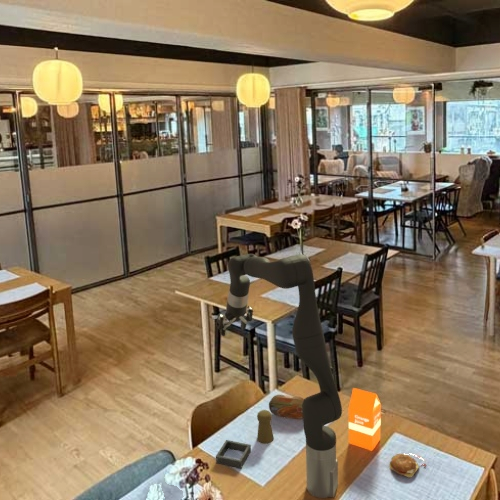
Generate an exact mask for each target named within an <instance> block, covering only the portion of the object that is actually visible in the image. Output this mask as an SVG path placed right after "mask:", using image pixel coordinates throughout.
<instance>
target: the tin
mask: <svg viewBox="0 0 500 500" xmlns="http://www.w3.org/2000/svg"><path fill="white" fill-rule="evenodd" d="M304 399H305V398H304V397H300V396H297V395H296V396H295V395H285V394H276V395H274V396H273V397H272V398H271V399H270V401H269V403H268V408H269V412H270V413H271V414H273V415H274V416H275V417H279V418H284V417H285V418H286V419H294V420H303V414H302V404H303V401H304Z"/></svg>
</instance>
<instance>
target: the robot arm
mask: <svg viewBox="0 0 500 500" xmlns="http://www.w3.org/2000/svg"><path fill="white" fill-rule="evenodd" d="M312 267H313V266H312V264H311V262H310V260H309V258H308V257H307V256H306V255H304V254H295V255H291V256H287V257H282V258H280V259H277V260H274V261H271V260H270V259H268V258H267V257H263V256H257V255H256V254H254V253H246V254H241V255H238V256H237V255H235V256H232V257H231V258H230V259H229V260H228V263H227V268H228V272H229V279H230V284H229V291H228V293H227V294H228V295H227V299H226V306H225V307H226V309H225V311H226V312H225V313H224V314H221V313H218V314H217V318H216V322H215V326H216V327H217V329H218V331H219V333H220V335H221V336H222V337H225V336H226V330H227V328H228V327H230V326H231V325H232V324H234V323H236V322H240V321H241V322H240V329H241V331H245V330H246V328H247V324H248V323H249V322H252V321H253V315H254V314H253V312H254V310H253V309H252V307H251V305H248V301H249V291H250V287H251V286H250V285H251V281H250V277H251V278H256V279H261V280H264V281H266V282H269V283H270V284H272V285H274V286H276V287H278V288H281V289H285V290H287V289H291V288H292V289H294V288H295V287H297V289H298V295H299V296H298V297H299V302H298V306H297V307H298V308H297V312H296V314H295V317H294V320H293V324H292V329H291V333H292V335H291V336H292V339H293V343H294V348H295V352H296V355H297V357H298V358H299V359H300V360H301V361H302V362H303V363H304V364H305V365H306V367H307V368H308V369H309V370H310V371H311V373H313V374H314V376H315V378H316V381H317V383H318V387H319V392H317V393H315V394H312V395H309V396H306V397H305V398H303V399H304V401H303V404H302V414H303V418H302V425H303V432H304V436H305V460H306V461H305V465H306V490H307V492H308V493H309V494H310V495H311V496H313V497H314V498H319V499H326V498H334V497H335V495H336V491H337V488H338V486H339V460H338V459H337V435H336V432H335V431H334V429H332V428H331V427H329V426H327V425H328V424H330V423H333V422H335V421H338V420H339V419H340V418H341V417H342V415H343V414H342V413H343V406H342V402H341V397H340V396H339V395H340V394H339V392H338V388H337V385H336V382H335V379H334V375H333V372H332V367H331V363H330V360H329V356H328V351H327V350H328V349H327V344H326V340H325V335H324V330H323V326H322V323H321V317H320V313H319V307H318V303H317V296H316V287H315V279H314V272H313V268H312Z"/></svg>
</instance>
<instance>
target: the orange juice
mask: <svg viewBox="0 0 500 500" xmlns="http://www.w3.org/2000/svg"><path fill="white" fill-rule="evenodd" d="M381 410H382V404H381V402H380V399H379V397H378V395H377V393H375V392H371V391H367V390H364V389H359V388H357V387H356V388H355V387H353V388H352V393H351V397H350V400H349V405H348V443H349V444H350V445H352V446H353V445H354V446H356V447H360V448H362V449H366V450H367V451H368V450H369V451H371V452H372V451H373V450H374V449H375V448H376V446H377V445H378V443H379V441H381V424H382V418H381V415H382V414H381V413H382V412H381Z"/></svg>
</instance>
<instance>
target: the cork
mask: <svg viewBox="0 0 500 500" xmlns="http://www.w3.org/2000/svg"><path fill="white" fill-rule="evenodd" d="M256 415H257V416H256V417H257V421H258V428H257V437H256V440H257V442H258V443H260V444H262V445H268V444H271V443H273V442H274V440H275V438H274V437H275V436H274V433H273V428H272V427H273V426H272V423H271V422H272V419H273V418H272V416H273V415H272V412H271V411H270V410H266V409H263V410H260V411H259V412H257V414H256Z"/></svg>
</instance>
